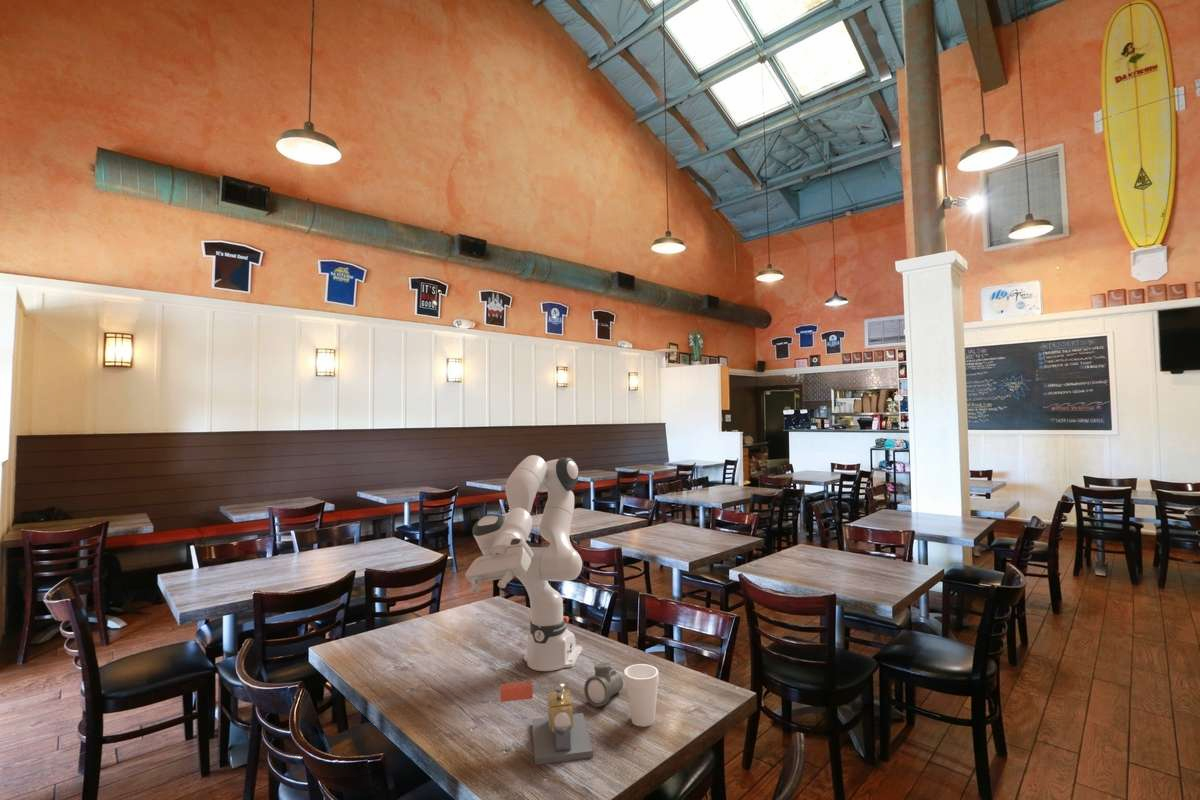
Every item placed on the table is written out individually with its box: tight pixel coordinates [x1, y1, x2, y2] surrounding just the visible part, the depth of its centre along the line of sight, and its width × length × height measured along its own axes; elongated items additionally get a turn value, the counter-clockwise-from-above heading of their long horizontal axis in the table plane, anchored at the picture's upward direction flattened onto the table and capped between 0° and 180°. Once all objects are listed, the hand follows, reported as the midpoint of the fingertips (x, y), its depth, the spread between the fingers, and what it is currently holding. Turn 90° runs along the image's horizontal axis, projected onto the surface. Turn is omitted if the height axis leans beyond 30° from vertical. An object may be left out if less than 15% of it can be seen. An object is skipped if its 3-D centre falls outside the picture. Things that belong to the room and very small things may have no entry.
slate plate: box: [531, 712, 594, 766], centre depth 139 cm, size 14×18×2 cm
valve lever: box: [500, 680, 566, 703], centre depth 139 cm, size 16×3×3 cm, turn 99°
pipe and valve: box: [546, 689, 574, 752], centre depth 139 cm, size 6×16×11 cm, turn 9°
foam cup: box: [623, 663, 660, 728], centre depth 148 cm, size 10×9×13 cm
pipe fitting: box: [583, 662, 624, 708], centre depth 160 cm, size 12×8×10 cm
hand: (487, 589), depth 149 cm, fingers open, 8 cm apart
